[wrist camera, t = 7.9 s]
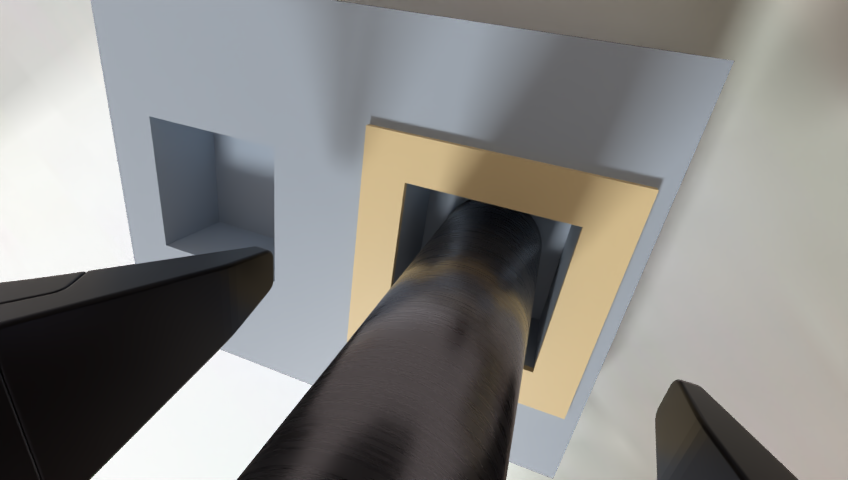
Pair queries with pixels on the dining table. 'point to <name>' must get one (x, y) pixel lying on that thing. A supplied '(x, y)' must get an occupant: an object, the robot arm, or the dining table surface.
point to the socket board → (399, 166)
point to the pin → (425, 366)
